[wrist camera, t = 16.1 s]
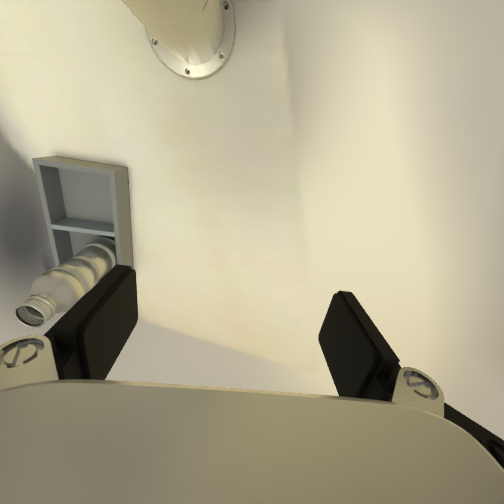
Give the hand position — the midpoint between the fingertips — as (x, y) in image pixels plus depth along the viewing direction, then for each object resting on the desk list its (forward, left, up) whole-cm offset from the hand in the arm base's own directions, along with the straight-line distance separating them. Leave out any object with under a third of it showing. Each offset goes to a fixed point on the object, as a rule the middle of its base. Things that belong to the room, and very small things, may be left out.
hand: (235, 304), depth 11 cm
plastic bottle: (+17, -24, -36) cm, 46 cm away
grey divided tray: (+12, -26, -36) cm, 46 cm away
